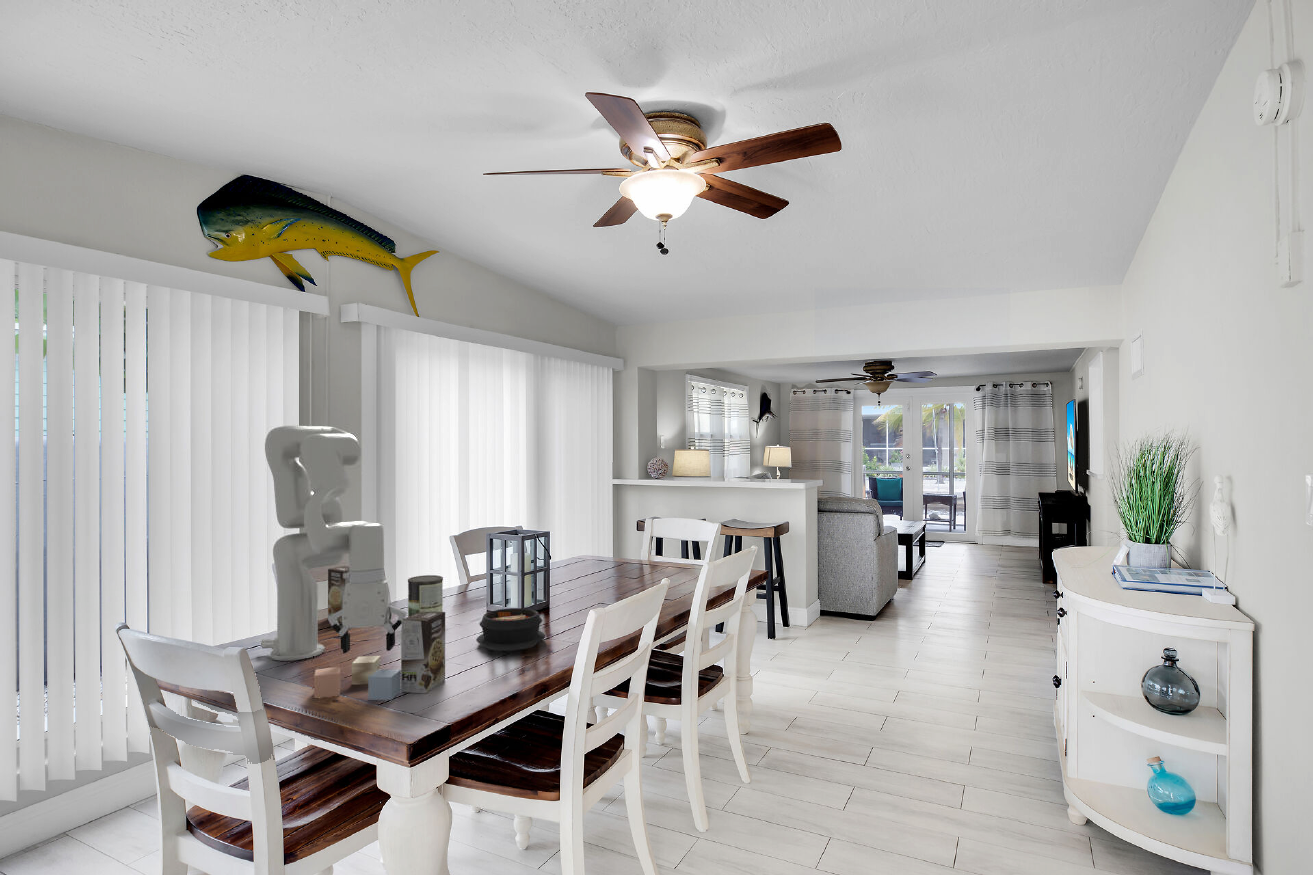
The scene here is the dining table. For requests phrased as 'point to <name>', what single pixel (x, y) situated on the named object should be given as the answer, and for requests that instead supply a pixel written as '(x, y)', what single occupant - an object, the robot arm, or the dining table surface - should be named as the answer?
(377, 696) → the slate block
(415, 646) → the coffee box
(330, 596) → the coffee box
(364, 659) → the maple cube
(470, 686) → the dining table surface
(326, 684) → the terracotta block
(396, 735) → the dining table surface
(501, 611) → the casserole
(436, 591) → the coffee can
